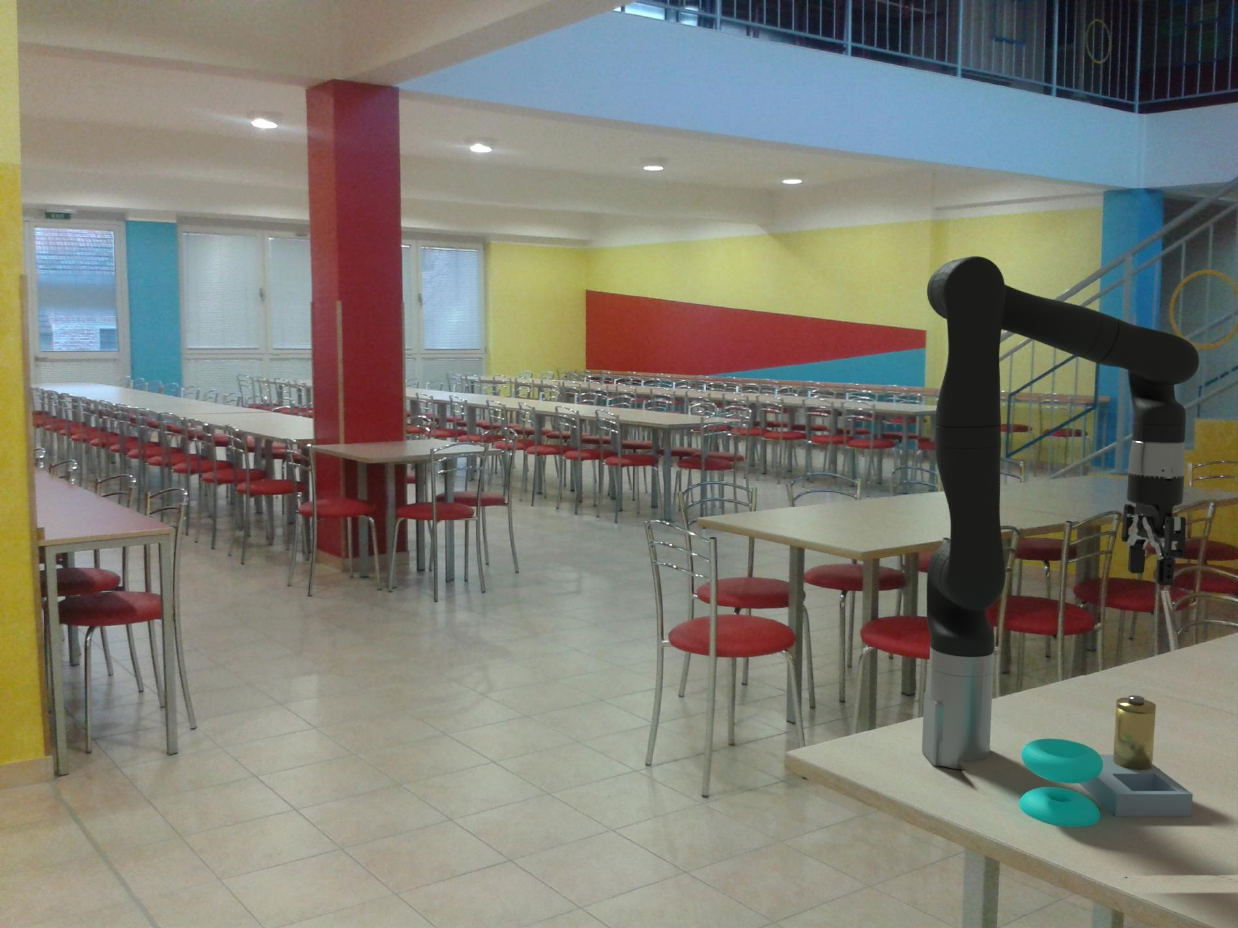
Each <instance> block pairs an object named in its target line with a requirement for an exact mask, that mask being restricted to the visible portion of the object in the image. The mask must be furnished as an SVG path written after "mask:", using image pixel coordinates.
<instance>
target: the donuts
mask: <svg viewBox="0 0 1238 928" xmlns="http://www.w3.org/2000/svg"><path fill="white" fill-rule="evenodd" d="M1100 755H1101V754H1099V752H1097V751H1096V749H1093V748H1092V747H1090V746H1088V745H1086V744H1083V743H1080V742H1078V741H1077V742H1076V741H1073V740H1068V739H1061V738H1039V739H1035V740H1032V741H1030V742H1028V743H1026V744H1025V746H1024V747H1023V748H1022V751H1021V759H1022V762H1023V764H1024V765H1025V767H1026V768H1027V769H1028V770H1029V771H1030V772H1031V773H1032V774H1034V775H1036V776H1038V777H1040V778H1043V779H1045V780H1048V781H1051V782H1056V783H1061V784H1079V783H1083V782H1088V781H1091V780H1093V779H1095V778H1096V777H1097V776H1098V775H1099V774H1100V773H1101V772H1102V769H1103V761H1102V758H1101V756H1100ZM1018 807H1019V809H1020V810H1021V811H1022V812H1023V814H1025V815H1026V816H1028V817H1031V818H1032V819H1034V820H1037V821H1040V822H1041V823H1046V824H1049V825H1050V824H1051V825H1054V826H1059V827H1060V826H1061V827H1071V828H1077V827H1079V828H1080V827H1088V826H1092V825H1095V824H1097V823H1098V822H1100V819H1101V813H1100V810H1099V807H1098V806H1097V804H1096V803H1095V802H1094V801H1093V800H1091V799H1090V798H1089V797H1088V796H1086V795H1084V794H1083V793H1081V792H1078V791H1076V790H1072V789H1069V788H1064V787H1056V786H1041V787H1037V788H1033V789H1030V790H1029V791H1026V792H1025V793H1024V794H1023V795H1022V796H1021V798H1020V800H1019V805H1018Z"/></svg>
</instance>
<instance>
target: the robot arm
mask: <svg viewBox="0 0 1238 928" xmlns="http://www.w3.org/2000/svg"><path fill="white" fill-rule="evenodd" d="M926 296H927V301H928V303H929V305H930V306H931V308H932V309H933V310H934V312H935V313H936V314H937V315H938V316H940V317H941V318H943V319H945V320H946V325H947V326H946V327H947V340H948V341H947V342H948V343H947V346H948V349H947V350H948V351H947V352H948V354H947V363H946V368H945V371H944V375H943V379H942V382H941V383H942V384H941V386H940V390H939V394H938V399H937V404H936V407H935V408H936V409H935V420H934V422H935V423H934V424H935V426H934V431H935V432H934V434H935V435H934V441H935V442H934V445H935V448H934V449H935V458H936V464H937V470H938V473H939V474H938V475H939V479H940V480H941V481H940V482H941V486H942V489H943V492H944V495H945V497H946V503H947V506H948V511H949V519H950V534H949V535H950V538H949V539H950V540H949V541H947V542H945V543H943V544H941V545H940V546H938V547H937V549H936V550H935V551H934V552H933V554H932V555H931V557H930V560H929V562H928V565H927V566H928V567H927V573H926V623H927V628H928V631H929V636H930V638H929V639H930V641H929V642H930V643H929V645H930V646H929V666H928V668H929V671H928V691H925V692H924V693H923V715H922V739H921V741H922V743H921V752H922V754H923V755H924V756H925V758H927V760H928V762H930V764H931V765H933V766H934V767H935V766H937V767H940V766H941V767H945V768H949V769H955V770H956V769H957V770H965V768H964V767H963V765H961V764H960V762H976V761H977V762H978V761H982V760H984V759H985V760H986V759H988V757H989V756H990V752H991V728H992V727H991V724H992V709H993V708H992V706H993V700H992V699H993V683H994V680H993V679H994V665H995V664H994V659H995V634H994V632H993V630H992V628H991V626H990V623H989V620H988V617H987V616H988V615H987V609H989V608H991V607H992V606H994V605H995V604H996V603H997V602H998V600H999V598H1001V596H1002V594H1003V591H1004V588H1005V582H1006V564H1005V563H1006V562H1005V555H1004V547H1003V537H1002V536H1003V535H1002V528H1001V511H1000V510H1001V454H1002V449H1001V448H1002V417H1001V415H1002V414H1001V370H1000V366H1001V365H1000V353H1001V352H1000V348H1001V347H1000V346H1001V339H1002V337H1001V336H1002V331H1006V332H1008V333H1011V334H1012V333H1013V334H1016V335H1019V336H1022V337H1024V338H1028V339H1030V340H1033V341H1036V342H1039V343H1041V344H1044V345H1047V346H1049V347H1052V348H1054V349H1057V350H1059V351H1061V352H1064V353H1068V354H1071V355H1072V356H1076V357H1078V358H1081V359H1084V360H1087V361H1089V362H1092V363H1094V364H1095V363H1096V364H1098V365H1102V366H1107V367H1111V368H1112V367H1115V368H1121V369H1123V370H1127V378H1128V379H1127V380H1128V386H1129V387H1128V388H1129V393H1130V400H1131V403H1132V407H1133V420H1132V433H1131V434H1132V436H1131V439H1132V440H1131V445H1130V450H1129V456H1128V457H1129V458H1128V470H1127V471H1128V473H1127V487H1126V488H1127V492H1126V500H1127V501H1128V502H1130V503H1126V504H1125V503H1124V505H1123V515H1122V525H1121V527H1122V528H1121V539H1120V540H1121V542H1123V543H1124V542H1125V543H1126V547H1127V548H1128V564H1127V570H1128V572H1129V573H1131V574H1143V573H1144V572H1145V564H1146V562H1145V561H1146V549H1145V548H1146V546H1147V544H1148V543H1149V544H1150V546H1152V547H1153V548H1154V549H1155V552H1156V555H1157V560H1156V573H1155V583H1156V585H1159V586H1172V585H1173V583H1174V576H1175V575H1174V574H1175V573H1174V571H1175V561H1176V560H1178V559H1184V558H1185V555H1186V529H1187V528H1186V527H1187V519H1186V517H1185V516H1174V509H1173V508H1174V507H1175V506H1179V505H1180V506H1181V504H1182V503H1183V502H1184V487H1185V485H1184V484H1185V473H1186V472H1185V470H1186V469H1185V468H1186V451H1185V448H1186V447H1185V439H1186V423H1187V422H1186V420H1187V419H1186V417H1187V414H1186V409H1185V407H1184V405H1183V404H1181V403H1180V402H1179V401H1178V400H1177V398H1176V392H1175V386H1176V385H1180V384H1182V383H1185V382H1187V381H1188V380H1190V379H1192V378H1193V377H1194V375H1196V373H1197V371H1198V368H1199V366H1200V357H1199V353H1198V351H1197V349H1196V347H1195V346H1194V345H1193V344H1192V343H1191V342H1189V340H1188V339H1187V340H1186V338H1183V337H1181V336H1178V335H1175V334H1172V333H1169V332H1166V331H1161V330H1158V329H1153V328H1150V327H1146V326H1145V327H1144V326H1140V325H1135V324H1133V323H1129V322H1127V321H1124V320H1122V319H1120V318H1118V317H1115V316H1112V315H1109V314H1107V313H1104V312H1100V311H1098V310H1095V309H1092V308H1089V307H1086V306H1082V305H1080V304H1079V305H1077V304H1074V303H1070V302H1066V301H1061V300H1058V299H1057V300H1055V299H1053V298H1047V297H1044V296H1039V295H1036V294H1032V293H1030V292H1025V291H1022V290H1019V289H1017V288H1014V287H1012V286H1010V285H1007V284H1006V283H1005V279H1004V276H1003V273H1002V271H1001V269H1000V268H999V267H998V266H997V265H996V263H994V262H993V261H992V260H991V259H988V258H986V257H984V256H983V257H982V256H977V255H976V256H975V255H973V256H967V257H962V258H957V259H954V260H951V261H949V262H946V263H944V264H942V265H941V266H940V267H938V268H937V269H936V270H935V271H934V272H933V273H932V275H930V278H929V281H928V283H927V288H926ZM1176 544H1177V545H1176ZM1176 546H1177V547H1176Z"/></svg>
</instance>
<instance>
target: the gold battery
mask: <svg viewBox="0 0 1238 928" xmlns="http://www.w3.org/2000/svg"><path fill="white" fill-rule="evenodd" d="M1115 702H1116V703H1115V720H1114V721H1115V722H1114V738H1113V754H1112V755H1113V762H1114V763H1115V764H1117V765H1119V766H1121V767H1124V768H1128V769H1133V770H1148V769H1151V768H1152V764H1153V763H1154V762H1153V759H1154V742H1155V729H1156V712H1157V711H1156V710H1157V709H1156V707H1157V705H1156V704H1155V703H1154V702H1153V701H1149V700H1147V699H1145V697H1143V696H1140V695H1128V696H1127V697H1119V698H1117V699H1116V701H1115Z"/></svg>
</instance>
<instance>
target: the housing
mask: <svg viewBox="0 0 1238 928" xmlns="http://www.w3.org/2000/svg"><path fill="white" fill-rule="evenodd" d="M1099 755H1100V756H1101V758H1102V761H1103V769H1102V772H1101V773H1100V774H1099V775H1098V776H1097V777H1096V778H1095V779H1093V780H1091V781H1088V782H1083V783H1078V784H1079V785H1080V786H1081V787H1082V788H1083V789H1085V791H1087V792H1088V793H1089V794H1091V796H1092V797H1093V798H1095V799H1096V800H1097V801H1098V802H1099V803H1100V804H1101V805H1102V806H1104V808H1105V809H1107V810H1108V811H1109V812H1110V813H1111V814H1112V815H1114V816H1115V817H1117V818H1119V817H1123V818H1125V817H1126V818H1127V817H1134V818H1135V817H1146V818H1147V817H1151V818H1152V817H1154V818H1156V817H1162V818H1163V817H1165V818H1166V817H1170V818H1171V817H1172V818H1173V817H1176V818H1177V817H1178V818H1179V817H1181V818H1182V817H1184V818H1185V817H1188V818H1189V817H1192V810H1193V800H1194V799H1193V797H1194V794H1193V793H1192V792H1191V791H1189V790H1188V789H1186V788H1185V787H1184V786H1183V785H1181V784H1180V783H1179V782H1177V781H1176V780H1174V779H1173V778H1172V777H1170V776H1169V775H1168V774H1166V773H1165V772H1164V771H1162V770H1161V769H1160V768H1158V767H1157V766H1156V765H1155V764H1153V763H1152V768H1151V769H1148V770H1133V769H1128V768H1124V767H1121V766H1119V765H1117V764H1115V763H1114V762H1113V754H1099Z"/></svg>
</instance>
